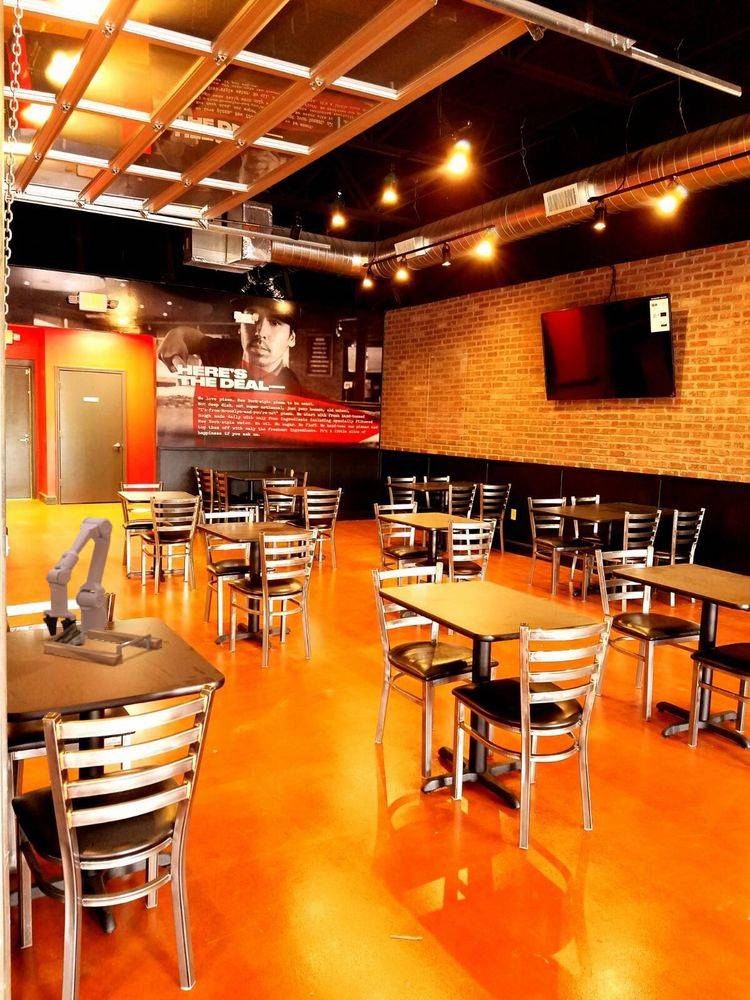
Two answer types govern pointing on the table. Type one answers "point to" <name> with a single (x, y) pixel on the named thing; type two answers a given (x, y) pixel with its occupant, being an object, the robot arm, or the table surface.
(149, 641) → the hook bar
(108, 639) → the shelf board
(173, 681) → the table surface
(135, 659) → the table surface
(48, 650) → the shelf board
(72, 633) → the chocolate cake
